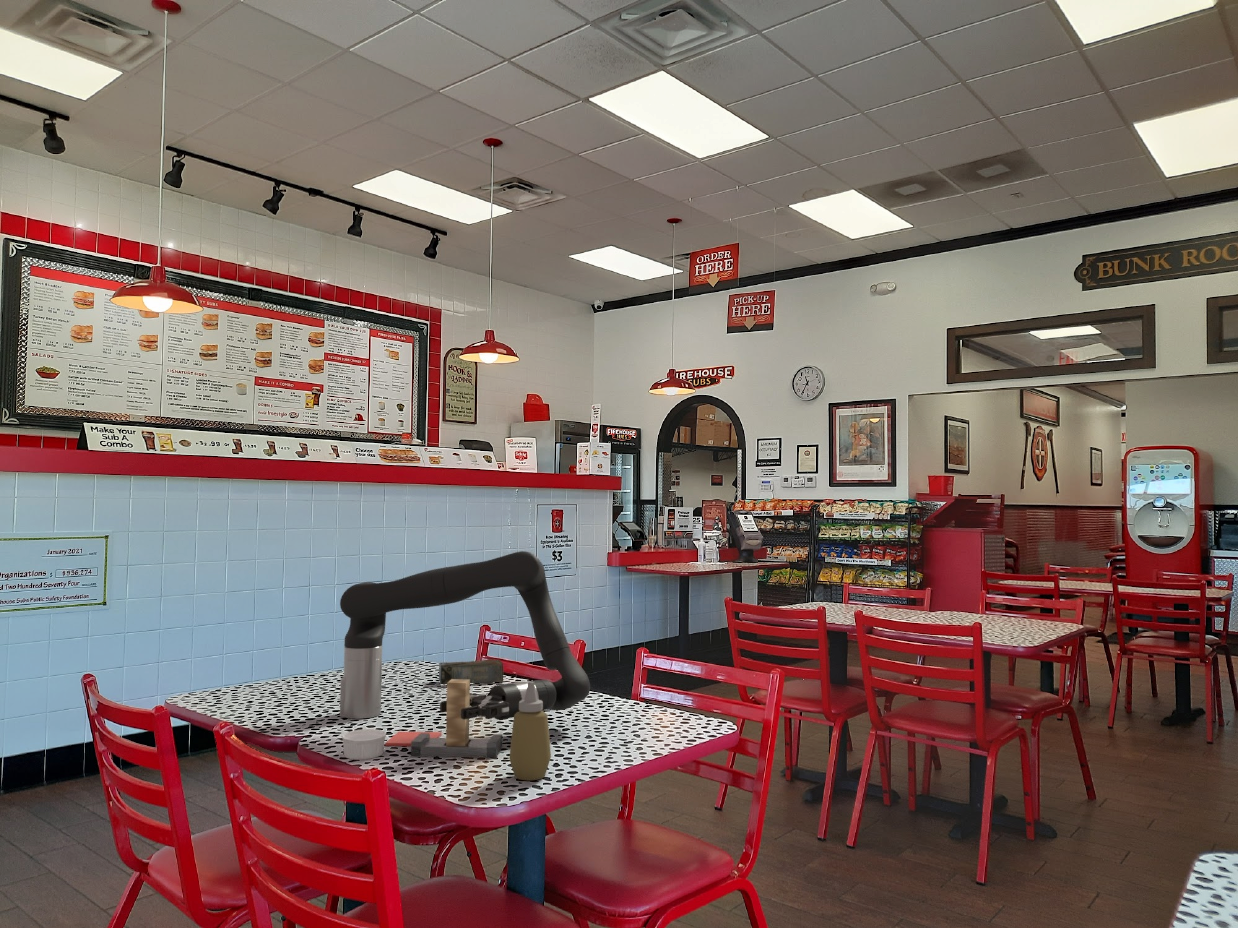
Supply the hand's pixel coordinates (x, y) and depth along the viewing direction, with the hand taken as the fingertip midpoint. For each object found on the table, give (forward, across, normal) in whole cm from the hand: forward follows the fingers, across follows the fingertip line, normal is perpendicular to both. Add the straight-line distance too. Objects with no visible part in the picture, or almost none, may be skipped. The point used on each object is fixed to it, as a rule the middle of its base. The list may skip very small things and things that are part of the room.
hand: (451, 710), depth 180 cm
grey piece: (-2, 0, +9) cm, 9 cm away
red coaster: (0, -15, +9) cm, 17 cm away
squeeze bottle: (-3, +24, +9) cm, 26 cm away
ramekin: (+14, -12, +9) cm, 20 cm away
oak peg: (-2, 0, +9) cm, 9 cm away
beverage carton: (-46, -64, +10) cm, 79 cm away
